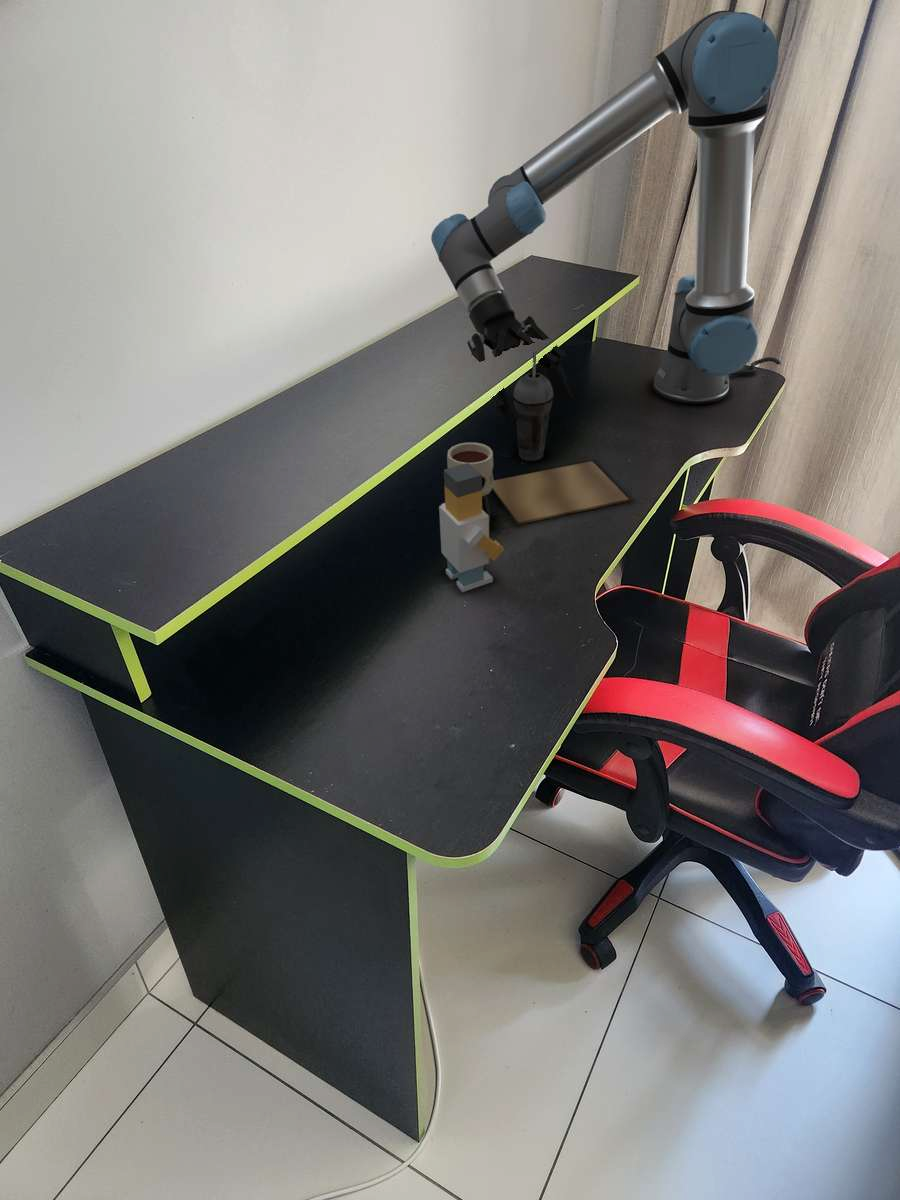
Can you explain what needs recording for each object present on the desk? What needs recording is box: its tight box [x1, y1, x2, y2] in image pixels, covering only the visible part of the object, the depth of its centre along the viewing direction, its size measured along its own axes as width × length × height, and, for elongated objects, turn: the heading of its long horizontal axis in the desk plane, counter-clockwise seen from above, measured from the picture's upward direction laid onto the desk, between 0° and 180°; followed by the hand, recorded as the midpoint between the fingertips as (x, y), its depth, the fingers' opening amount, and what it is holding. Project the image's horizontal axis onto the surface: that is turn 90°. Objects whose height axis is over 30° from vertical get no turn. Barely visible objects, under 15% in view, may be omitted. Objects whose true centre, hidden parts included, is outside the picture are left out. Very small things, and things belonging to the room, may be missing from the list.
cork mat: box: [491, 460, 630, 526], centre depth 134 cm, size 20×14×1 cm
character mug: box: [446, 442, 494, 525], centre depth 123 cm, size 11×7×13 cm, turn 141°
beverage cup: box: [512, 352, 555, 462], centre depth 139 cm, size 7×7×20 cm
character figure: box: [438, 463, 506, 593], centre depth 110 cm, size 8×10×18 cm
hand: (542, 411), depth 137 cm, fingers open, 12 cm apart
